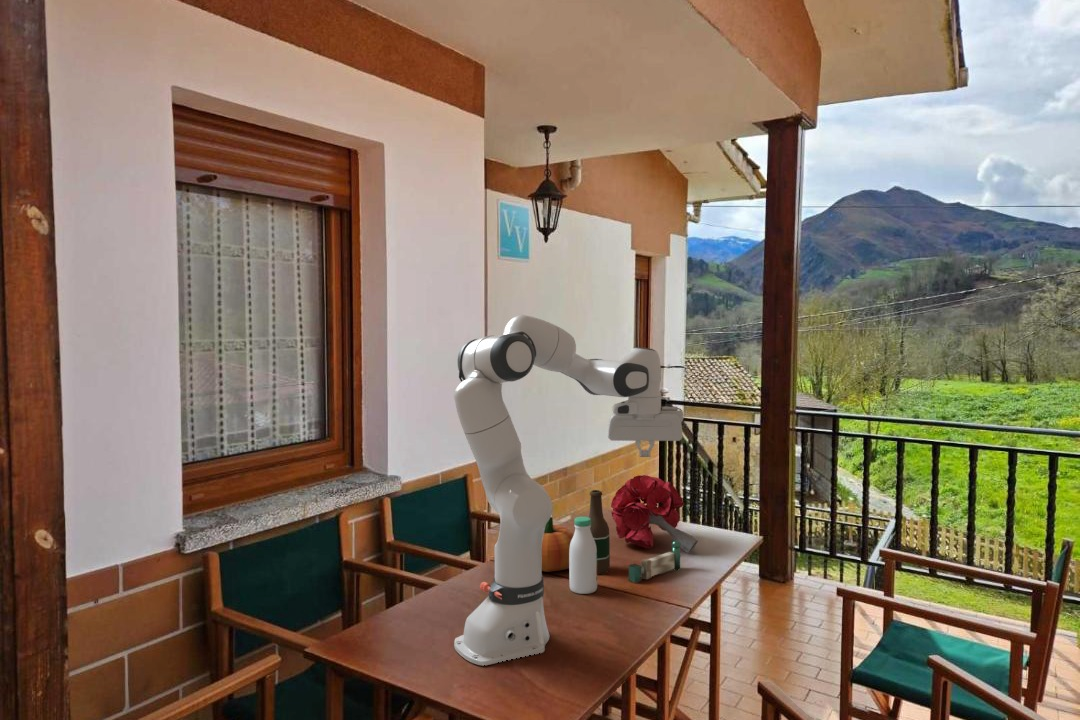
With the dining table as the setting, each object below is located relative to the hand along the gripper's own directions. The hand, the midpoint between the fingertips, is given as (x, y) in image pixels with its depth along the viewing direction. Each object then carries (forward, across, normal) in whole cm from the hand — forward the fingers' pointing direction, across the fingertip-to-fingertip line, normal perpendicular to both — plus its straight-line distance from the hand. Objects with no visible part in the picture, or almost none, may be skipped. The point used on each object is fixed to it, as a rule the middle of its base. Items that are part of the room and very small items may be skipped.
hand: (644, 456), depth 185 cm
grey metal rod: (+37, -4, -11) cm, 39 cm away
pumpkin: (+37, +28, -17) cm, 50 cm away
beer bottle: (+37, +14, -13) cm, 42 cm away
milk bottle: (+37, +17, +1) cm, 41 cm away
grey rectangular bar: (+37, -4, -11) cm, 38 cm away
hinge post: (+37, -10, -16) cm, 42 cm away
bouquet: (+37, -4, -36) cm, 52 cm away
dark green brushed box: (+37, +3, -6) cm, 38 cm away
